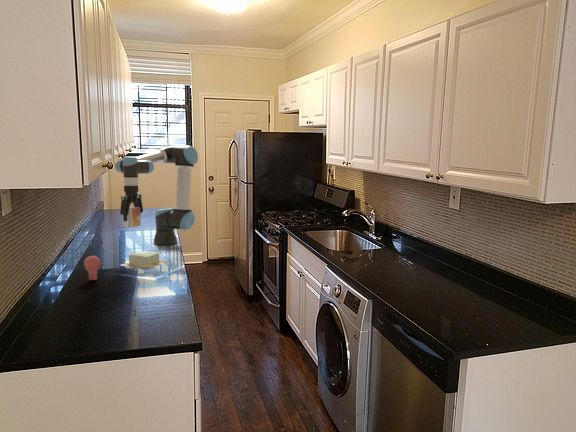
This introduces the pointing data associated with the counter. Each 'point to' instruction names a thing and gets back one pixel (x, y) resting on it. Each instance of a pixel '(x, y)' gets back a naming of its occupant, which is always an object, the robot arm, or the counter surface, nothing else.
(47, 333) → the counter surface
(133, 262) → the base block
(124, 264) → the birch board
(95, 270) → the light bulb
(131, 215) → the small box
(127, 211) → the robot arm
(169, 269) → the counter surface
